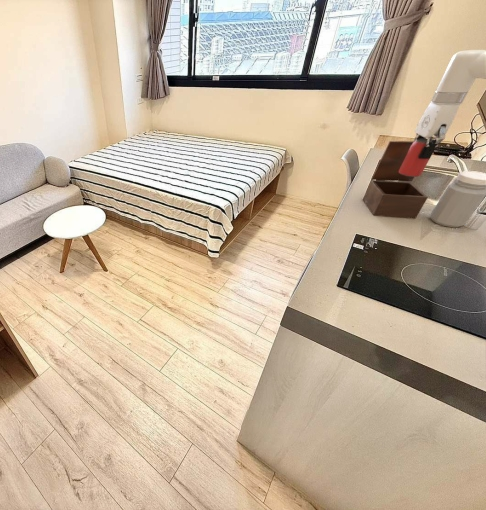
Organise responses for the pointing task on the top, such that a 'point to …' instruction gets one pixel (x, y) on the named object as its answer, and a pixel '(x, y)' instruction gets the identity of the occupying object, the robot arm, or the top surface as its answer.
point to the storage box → (394, 199)
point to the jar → (460, 199)
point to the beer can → (414, 159)
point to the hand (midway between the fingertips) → (419, 154)
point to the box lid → (393, 162)
